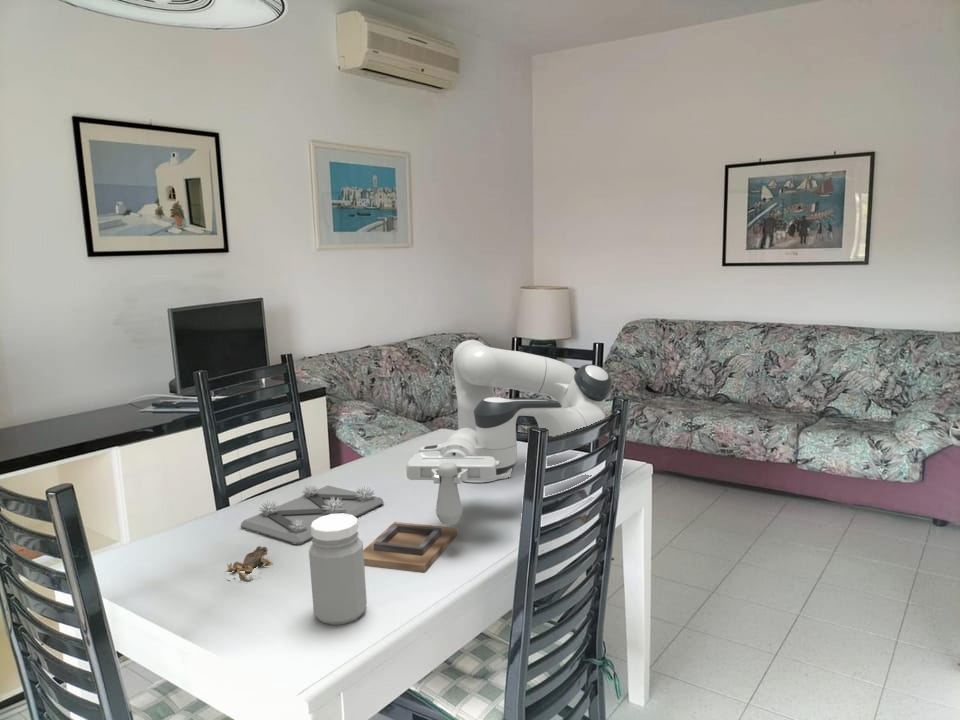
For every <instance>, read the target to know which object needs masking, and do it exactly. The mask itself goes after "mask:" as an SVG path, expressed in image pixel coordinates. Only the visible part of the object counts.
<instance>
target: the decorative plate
mask: <svg viewBox="0 0 960 720" xmlns="http://www.w3.org/2000/svg"><path fill="white" fill-rule="evenodd" d="M304 489H305V490H304ZM304 489H303V490H302V493H303V494H302V496H299V497H297V498H294V499H292V500H289V501H287V502H285V503H282V504H281V505H279V504H278V505H276V504H277V503H276V502H277V501H276V502H275V501H274V500H273V501H272V502H271V501H269V500H266V501H267V503H266V502H263V504H261V505H262V507H259V508H258V511H259V512H260V513H258V514H256V515H254V516H251V517H248V518H247V519H244V520H242V522H241V524H240V527H241V528H242V529H244V528H245V529H244V530H247V529H248V531H251V530H252V531H251V532H254V531H255V532H254V533H257V532H258V534H260V533H261V535H264V536H268V537H270V536H271V538H273V537H274V539H277V540H280V539H281V540H280V541H283V540H284V542H286V541H287V543H290V542H291V543H290V544H293V543H294V544H293V545H296V544H297V546H299V545H298V544H300V545H302V544H304V543H306V542H308V541H310V540H312V539H313V536H312V534H311V525H312V522H313V521H314V520H316V519H318V518H320V517H322V516H326V515H329V514H339V513H343V514H350V515H353V516H354V517H356V518H357V517H359V516H362V515H364V514H366V513H368V512H370V511H372V510H374V509H376V508H378V507H380V506H382V505H383V504H384V499H383V498H381V497H380V496H374V495H375V493H376V492H374V490H372V491H371V487H370V486H368V487H367V488H366V487H365V486H364V485H363V486H361V488H360V489H359V487H357V489H356V491H353V490H348V489H345V488H340V487H335V486H331V485H326V486H323V487H321V488H319V487H316V486H315V485H308V486H305V487H304Z"/></svg>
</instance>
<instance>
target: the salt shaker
mask: <svg viewBox="0 0 960 720" xmlns="http://www.w3.org/2000/svg"><path fill="white" fill-rule="evenodd" d="M456 474H457V465H456V464H454V463H448V462H447V463H442V464H440V465H439V466H438V475H439V476H441V477H440V480H441V482H440V483H438V484H439V485H438V493H437V499H436V505H435V506H436V507H435V513H436V516H437V518H438V520H439V522H440V523H441V525H446V526H448V525H449V526H452V525H455V524H456V525H457V524H458V523H459V520H460V518H461V517H462V515H463V508H462V502H461V498H460V493H459V489H458V484H455V483H454V482H453V481H454V479H453V476H455V475H456Z"/></svg>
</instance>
